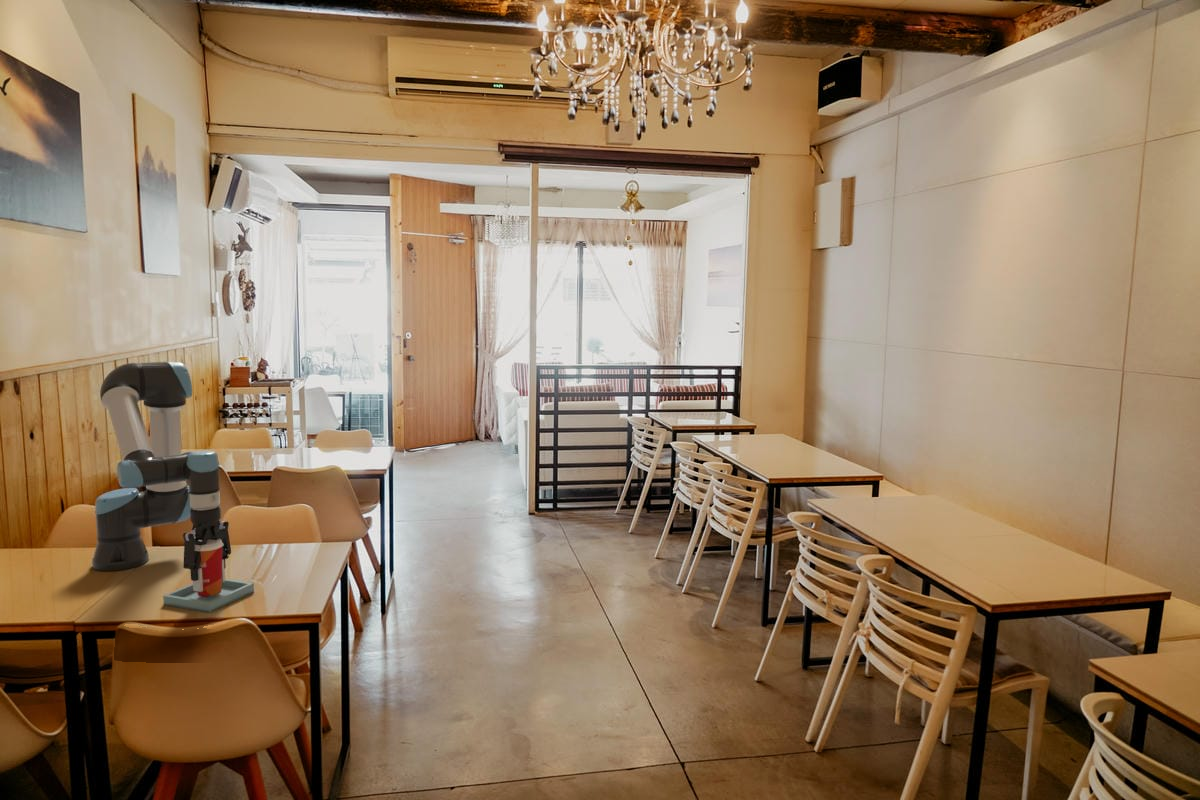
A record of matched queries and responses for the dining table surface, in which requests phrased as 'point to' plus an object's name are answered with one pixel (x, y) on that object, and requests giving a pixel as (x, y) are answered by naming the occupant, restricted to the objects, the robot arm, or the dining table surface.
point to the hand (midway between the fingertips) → (209, 585)
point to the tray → (192, 601)
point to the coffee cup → (211, 567)
